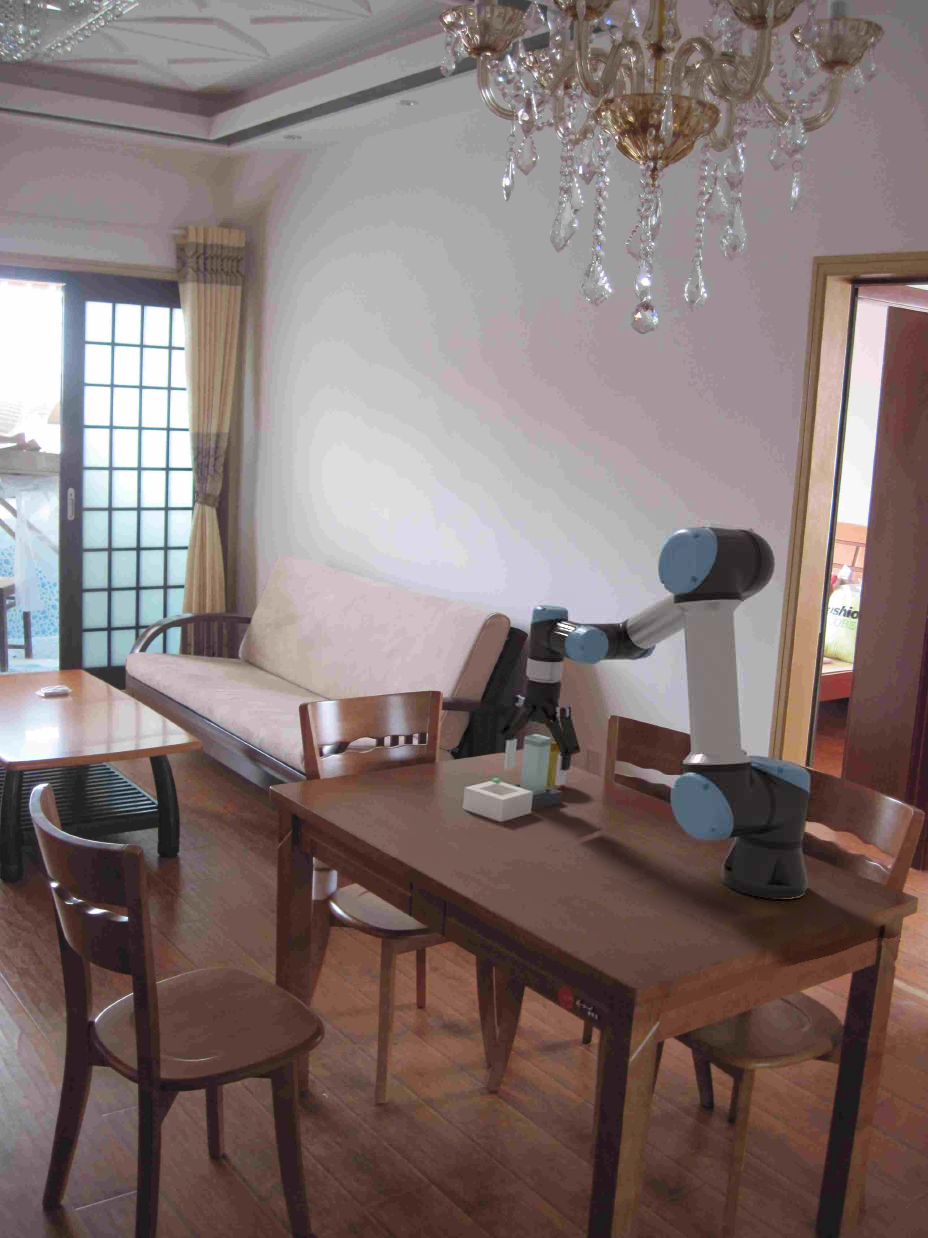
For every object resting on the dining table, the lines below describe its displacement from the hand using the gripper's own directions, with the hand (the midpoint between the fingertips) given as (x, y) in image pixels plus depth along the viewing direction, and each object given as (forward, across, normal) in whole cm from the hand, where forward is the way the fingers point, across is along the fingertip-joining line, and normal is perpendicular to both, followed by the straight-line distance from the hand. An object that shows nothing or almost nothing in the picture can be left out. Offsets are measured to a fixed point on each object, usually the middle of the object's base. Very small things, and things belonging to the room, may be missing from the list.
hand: (534, 776), depth 245 cm
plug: (+5, 0, 0) cm, 5 cm away
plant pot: (+7, +6, -13) cm, 16 cm away
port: (+6, 0, +12) cm, 13 cm away
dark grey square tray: (+6, 0, 0) cm, 6 cm away
